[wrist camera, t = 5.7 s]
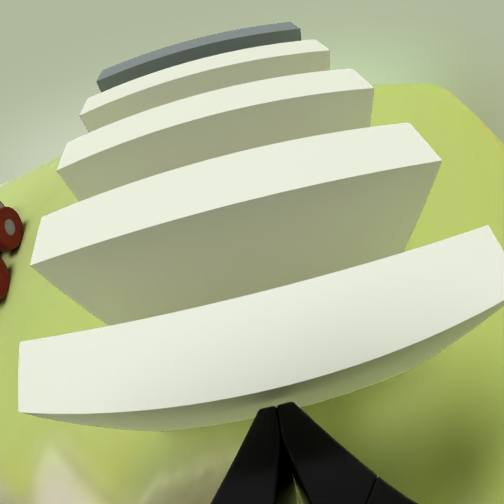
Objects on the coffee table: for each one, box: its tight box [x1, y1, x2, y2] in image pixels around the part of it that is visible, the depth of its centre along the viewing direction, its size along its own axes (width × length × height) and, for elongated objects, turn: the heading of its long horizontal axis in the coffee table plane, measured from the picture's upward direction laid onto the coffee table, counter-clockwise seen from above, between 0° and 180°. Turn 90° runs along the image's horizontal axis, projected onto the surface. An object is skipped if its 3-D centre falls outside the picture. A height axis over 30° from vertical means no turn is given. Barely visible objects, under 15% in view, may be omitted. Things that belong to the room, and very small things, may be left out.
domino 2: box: [79, 39, 330, 133], centre depth 17 cm, size 2×13×10 cm, turn 102°
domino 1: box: [97, 22, 301, 92], centre depth 20 cm, size 2×13×10 cm, turn 102°
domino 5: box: [18, 225, 504, 432], centre depth 10 cm, size 2×13×10 cm, turn 102°
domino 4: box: [30, 123, 442, 326], centre depth 12 cm, size 2×13×10 cm, turn 103°
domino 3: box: [57, 69, 374, 202], centre depth 15 cm, size 2×13×10 cm, turn 102°
